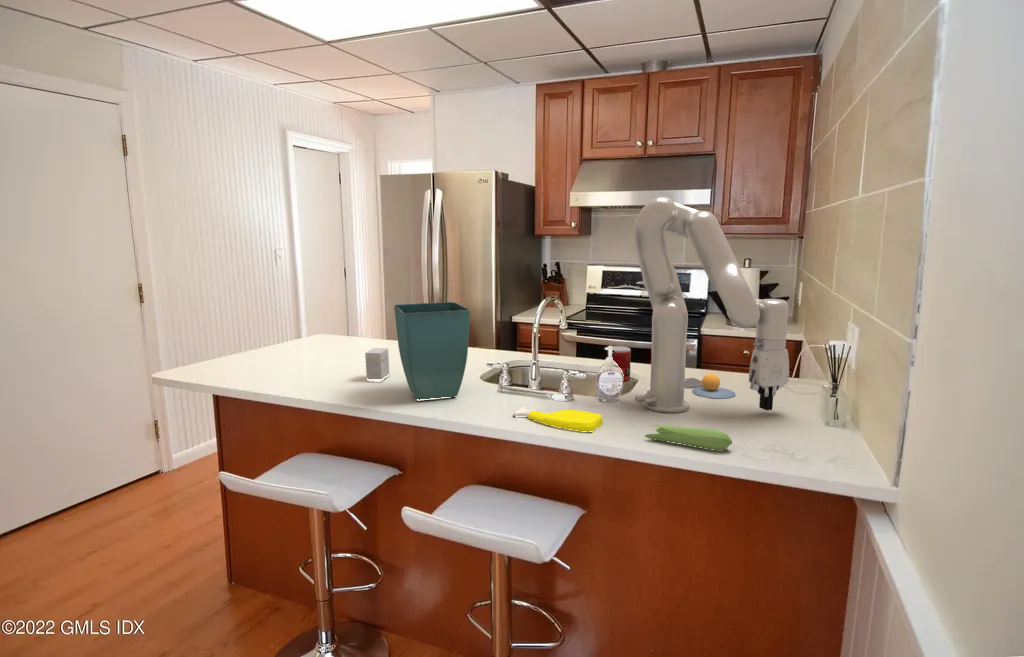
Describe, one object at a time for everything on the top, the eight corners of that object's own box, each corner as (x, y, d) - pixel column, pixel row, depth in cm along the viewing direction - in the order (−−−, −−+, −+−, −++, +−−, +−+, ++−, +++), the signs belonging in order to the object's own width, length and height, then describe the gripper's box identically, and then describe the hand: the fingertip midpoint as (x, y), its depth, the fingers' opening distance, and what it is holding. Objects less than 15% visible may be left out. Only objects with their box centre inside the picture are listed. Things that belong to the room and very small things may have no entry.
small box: (375, 376, 199) (373, 347, 197) (390, 376, 198) (388, 348, 197) (366, 382, 191) (364, 352, 190) (381, 382, 191) (380, 352, 189)
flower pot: (473, 400, 169) (471, 309, 164) (407, 408, 163) (403, 312, 158) (456, 384, 188) (454, 301, 183) (397, 390, 181) (393, 304, 176)
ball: (697, 375, 180) (700, 392, 179) (706, 373, 174) (709, 390, 173) (712, 373, 181) (715, 390, 180) (721, 371, 176) (725, 388, 175)
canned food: (630, 382, 188) (630, 351, 186) (606, 381, 189) (606, 350, 187) (629, 377, 195) (630, 346, 193) (606, 376, 197) (607, 345, 195)
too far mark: (686, 388, 180) (686, 388, 180) (668, 380, 189) (668, 380, 189) (712, 385, 183) (712, 385, 183) (693, 378, 192) (693, 377, 192)
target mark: (709, 400, 167) (709, 400, 167) (683, 389, 179) (683, 388, 179) (744, 396, 171) (744, 395, 171) (717, 385, 183) (717, 385, 183)
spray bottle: (590, 436, 140) (506, 422, 152) (605, 423, 149) (525, 411, 161) (590, 425, 139) (506, 412, 151) (605, 413, 149) (525, 401, 161)
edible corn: (730, 439, 125) (732, 427, 129) (642, 428, 134) (647, 417, 138) (730, 457, 127) (733, 445, 131) (644, 445, 136) (648, 434, 140)
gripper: (758, 349, 145) (753, 416, 148) (802, 345, 150) (797, 410, 153) (738, 343, 152) (734, 407, 155) (781, 340, 157) (776, 402, 160)
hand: (765, 408), depth 154 cm, fingers closed
